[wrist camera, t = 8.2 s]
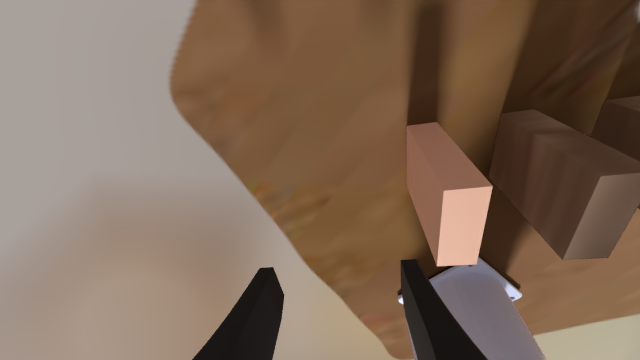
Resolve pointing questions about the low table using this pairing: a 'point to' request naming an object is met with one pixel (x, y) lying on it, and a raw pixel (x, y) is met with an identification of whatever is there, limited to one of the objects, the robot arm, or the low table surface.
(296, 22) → the low table surface
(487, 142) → the low table surface
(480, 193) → the terracotta domino
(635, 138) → the walnut domino
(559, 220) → the walnut domino
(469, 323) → the robot arm
